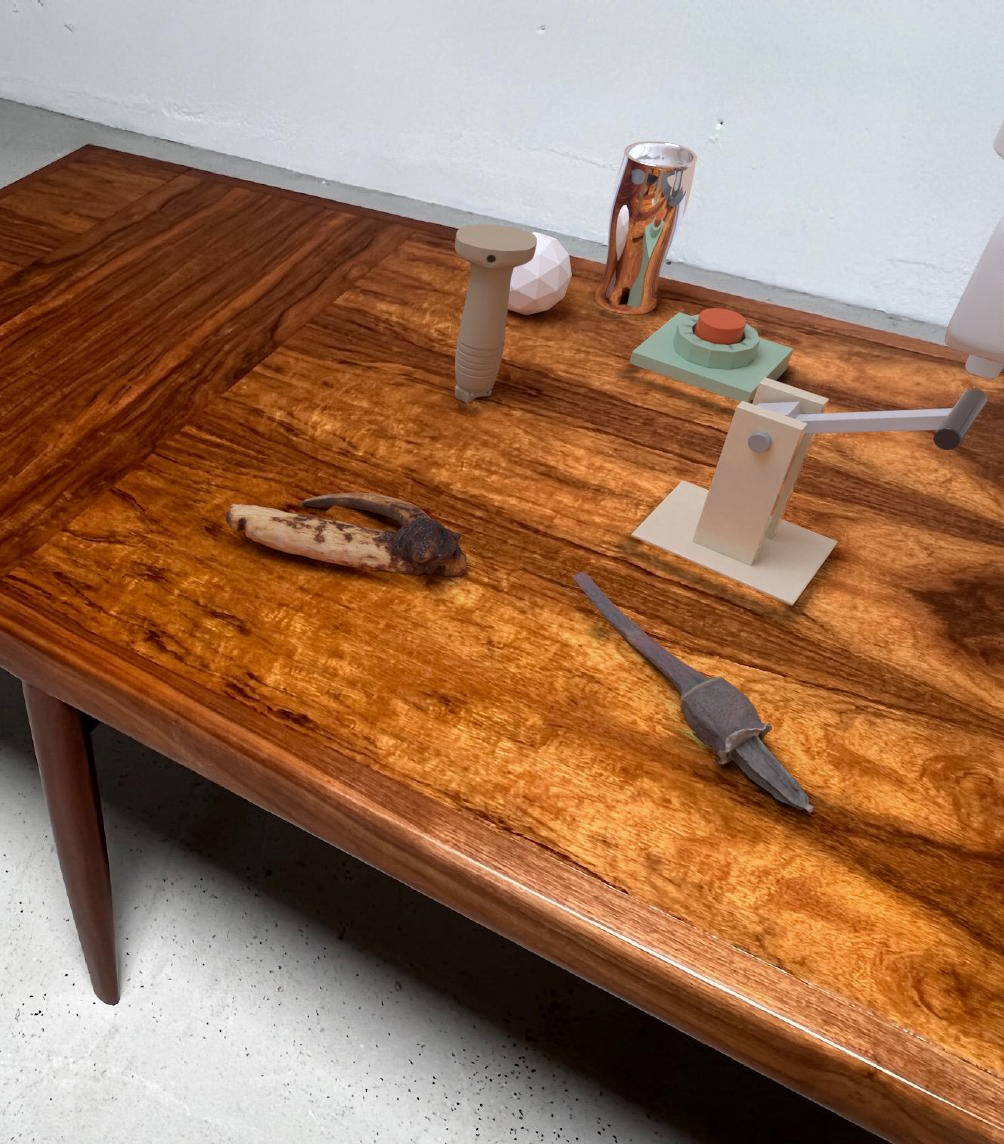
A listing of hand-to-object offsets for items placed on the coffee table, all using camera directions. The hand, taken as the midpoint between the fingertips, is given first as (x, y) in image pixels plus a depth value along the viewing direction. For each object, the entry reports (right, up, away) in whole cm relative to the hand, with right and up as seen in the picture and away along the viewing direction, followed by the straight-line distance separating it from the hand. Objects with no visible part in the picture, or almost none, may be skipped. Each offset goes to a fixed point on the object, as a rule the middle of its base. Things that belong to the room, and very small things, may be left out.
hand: (985, 366), depth 66 cm
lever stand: (-7, -10, +18) cm, 22 cm away
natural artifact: (-16, -20, +7) cm, 26 cm away
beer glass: (-5, +15, +48) cm, 51 cm away
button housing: (-1, +6, +37) cm, 38 cm away
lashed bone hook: (-36, -10, +18) cm, 41 cm away
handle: (-23, +3, +34) cm, 41 cm away
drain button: (-1, +9, +35) cm, 36 cm away
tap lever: (-4, -3, +7) cm, 9 cm away
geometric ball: (-15, +14, +47) cm, 51 cm away
